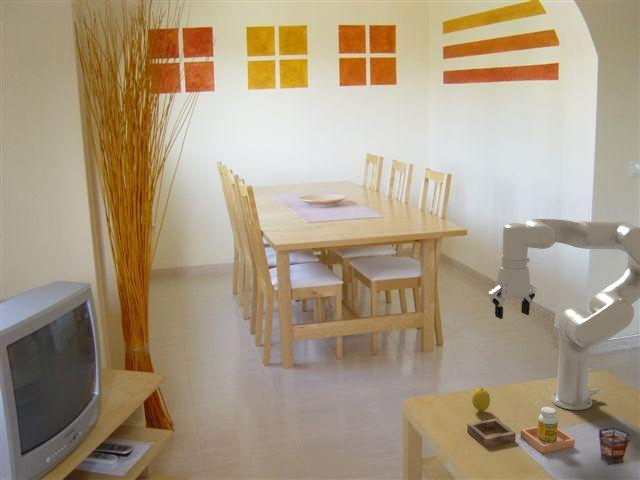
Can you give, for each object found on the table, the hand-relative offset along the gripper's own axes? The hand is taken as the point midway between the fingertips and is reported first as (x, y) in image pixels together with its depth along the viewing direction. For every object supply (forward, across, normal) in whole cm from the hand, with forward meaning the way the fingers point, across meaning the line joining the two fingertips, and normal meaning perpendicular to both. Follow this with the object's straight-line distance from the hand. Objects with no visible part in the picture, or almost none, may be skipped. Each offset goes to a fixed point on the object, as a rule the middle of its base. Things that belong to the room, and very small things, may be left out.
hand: (512, 315), depth 220 cm
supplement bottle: (+30, +4, +25) cm, 39 cm away
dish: (+30, +4, +25) cm, 39 cm away
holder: (+30, +17, +16) cm, 38 cm away
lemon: (+31, +11, +1) cm, 32 cm away
